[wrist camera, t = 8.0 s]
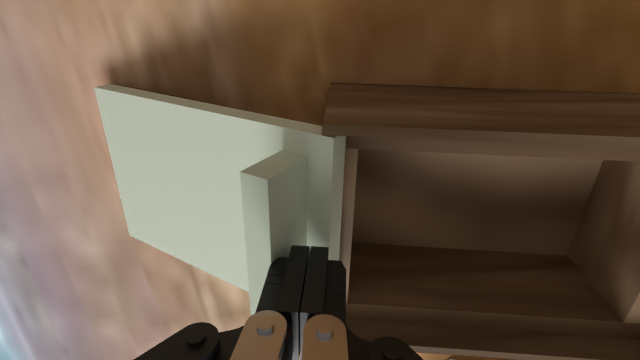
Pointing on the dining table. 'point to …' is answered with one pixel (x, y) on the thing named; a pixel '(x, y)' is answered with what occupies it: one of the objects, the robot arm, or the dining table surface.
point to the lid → (222, 182)
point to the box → (491, 219)
